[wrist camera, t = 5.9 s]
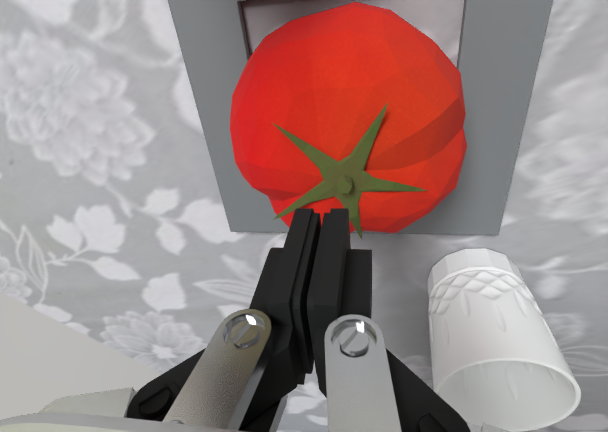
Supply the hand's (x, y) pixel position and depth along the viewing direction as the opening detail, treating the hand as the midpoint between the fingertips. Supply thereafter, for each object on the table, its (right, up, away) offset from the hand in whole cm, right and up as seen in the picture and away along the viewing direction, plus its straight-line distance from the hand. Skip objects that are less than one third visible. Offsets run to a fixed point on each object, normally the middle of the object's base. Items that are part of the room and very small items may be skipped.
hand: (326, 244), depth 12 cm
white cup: (+13, -4, +18) cm, 23 cm away
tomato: (+2, +8, +11) cm, 14 cm away
